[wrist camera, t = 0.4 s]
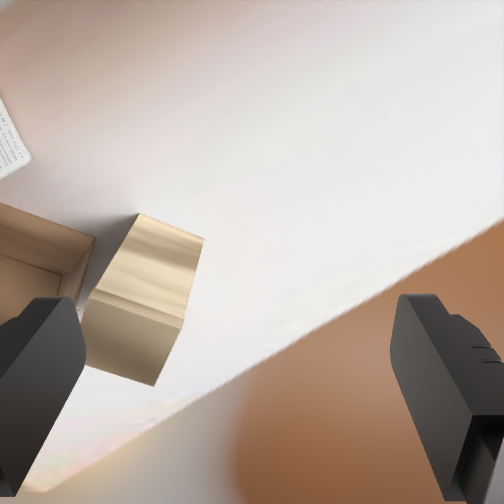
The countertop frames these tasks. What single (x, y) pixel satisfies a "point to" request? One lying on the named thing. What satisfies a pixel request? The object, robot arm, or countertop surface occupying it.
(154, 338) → the oak block
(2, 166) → the skincare box
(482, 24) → the countertop surface
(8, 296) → the walnut box
